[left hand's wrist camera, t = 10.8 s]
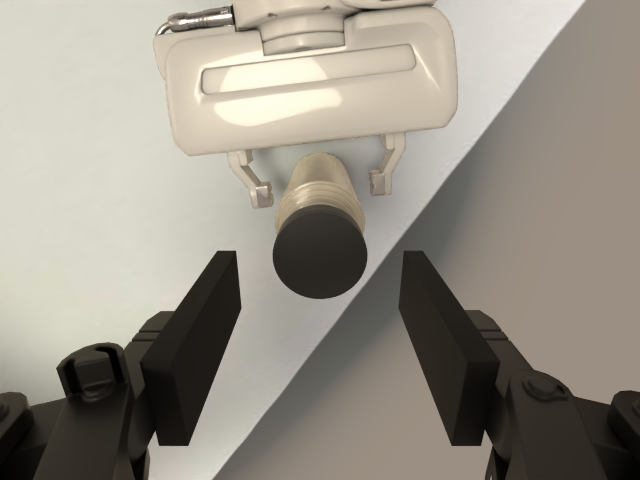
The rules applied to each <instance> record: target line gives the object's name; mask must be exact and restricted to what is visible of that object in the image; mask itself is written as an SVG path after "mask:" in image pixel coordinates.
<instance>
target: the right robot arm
mask: <svg viewBox="0 0 640 480" xmlns="http://www.w3.org/2000/svg"><path fill="white" fill-rule="evenodd" d="M436 1H437V0H232V3H233V4H232V6H229V7H228V6H227V7H221V8H214V9H208V10H206V11H205V10H204V11H202V12H197V13H190V14H188V13H177V14H173V15H171V16H169V17H168V22H166V23H164V24H163V25H161V26H160V27H159V29H158V30H157V32H156V34H155V37H154V39H153V48H154V52H155V56H156V60H157V64H158V68H159V71H160V73H161V76H162V77H163V79H164V80H165V86H166V96H167V105H168V113H169V119H170V124H171V130H172V135H173V139H174V142H175V144H176V145H177V146H178V147H179V148H180V149H181V150H182V151H183V152H184V153H185V154H187V155H188V156H198V155H207V154H216V153H224V152H227V155H228V160H229V165H230V168H231V169H232V171H233V172H234V173H235V174H236V175H237V176H238V178H239V179H240V180H241V181H242V182H243V183H244V185H245V186H246V187H247V188H249V191H250V196H251V201H252V206H253V208H254V209H257V208H265V207H272V205H273V201H274V200H273V194H272V193H271V190H272V187H271V182H260V180H259V179H258V178H257V176H256V175H255V174H254V172H253V171H252V170H251V168H250V167H249V166H248V164H249V163H250V162H252V160H253V158H252V152H251V149H260V148H268V147H277V146H286V145H295V144H304V143H312V142H321V141H330V140H339V139H348V138H356V137H365V136H374V135H381V139H382V146H383V147H385V148H386V149H388V150H387V153H386V155H385V157H384V159H383V161H382V163H381V165H380V167H379V170H371V171H369V179H370V181H371V183H370V192H371V194H372V196H379V195H389V194H391V172H393V170H394V168H395V167H396V165H397V163H398V161H399V159H400V157H401V155H402V153H403V152H404V150H405V132H409V131H418V130H427V129H436V128H443V127H445V126H446V125H447V124H448V123H449V122H450V120H451V119H452V117H453V116H454V114H455V113H456V110H457V102H458V77H457V61H456V50H455V41H454V35H453V31H452V28H451V25H450V23H449V21H448V19H447V17H446V16H445V15H444V14H443V13H442V12H441V11H440V10H438V9H436V8H434V7H432V6H433V5H434V3H435V2H436ZM169 29H171V31H172V32H174V33H169V34H164V33H165V32H166V31H167V30H169ZM198 29H200V30H198Z"/></svg>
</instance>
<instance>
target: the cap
mask: <svg viewBox="0 0 640 480" xmlns="http://www.w3.org/2000/svg"><path fill="white" fill-rule="evenodd" d="M273 263H274V267H275V270H276V273H277V274H278V276H279V278H280V279H281V281H282V282H283V283H284V284H285V285H286V286H287V287H288V288H289V289H291V290H292V291H294V292H295V293H297V294H299V295H302V296H304V297H308V298H314V299H326V298H332V297H336V296H338V295H341V294H343V293H345V292H346V291H348V290H349V289H351V288H352V287H353V286H354V285H355V284H356V283H357V282H358V281H359V279H360V278H361V276H362V274H363V273H364V270H365V267H366V263H367V248H366V244H365V241H364V238H363V235H362V232H361V229H360V227H359V226H358V224H357V222H356V221H355V220H354V219H353V218H352V217H351V216H350V215H349V214H348V213H346V212H345V211H343V210H341V209H339V208H337V207H334V206H330V205H323V204H317V205H310V206H306V207H303V208H301V209H299V210H297V211H295V212H294V213H292V214H291V215H290V216H289V217H288V218H287V219H286V220H285V221H284V223H283V224H282V226H281V227H280V229H279V232H278V235H277V238H276V241H275V244H274V248H273Z"/></svg>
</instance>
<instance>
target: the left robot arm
mask: <svg viewBox="0 0 640 480" xmlns="http://www.w3.org/2000/svg"><path fill="white" fill-rule="evenodd" d="M240 311H241V298H240V288H239V277H238V267H237V256H236V251H217V252H216V254H215V255H214V256H213V258H212V259H211V261H210V262H209V264H208V265H207V266H206V268H205V269H204V271H203V272H202V273H201V275H200V276H199V278H198V279H197V281H196V282H195V283H194V285H193V286H192V288H191V289H190V290H189V292H188V293H187V295H186V296H185V298H184V299H183V300H182V302H181V303H180V305H179V306H178V308H177V309H176V310H175V311H160V312H159V313H157V314H156V315H154V316H153V317H151V318H150V319H148V320H147V321H146V323H145V324H144V325H143V326H142V328H141V329H140V330H139V333H137V334H136V335H135V336H134V338H133V339H132V342H130V343H129V344H128V345H127V346H126V347H125V349H124V350H123V348H122V347H121V346H119V345H118V344H115V343H109V342H108V343H97V344H94V345H90V346H87V347H84V348H82V349H79V350H77V351H75V352H73V353H72V354H70V355H69V356H67V357H66V358H65V359H63V360H62V361H61V363H60V364H59V365H58V366H57V368H56V369H57V372H58V375H59V378H60V381H61V383H62V386H63V389H64V392H65V395H66V398H63V399H60V400H55V401H51V402H47V403H42V404H38V405H34V406H30V405H29V402H28V400H27V397H26V396H25V395H23V394H22V393H18V392H7V393H2V394H0V480H148V476H149V466H150V455H149V450H148V444H149V442H150V440H151V438H152V436H153V434H154V432H155V430H156V435H157V439H158V443H159V446H188V445H189V443H190V440H191V437H192V435H193V432H194V430H195V427H196V424H197V422H198V419H199V417H200V414H201V412H202V409H203V406H204V404H205V401H206V399H207V396H208V393H209V391H210V388H211V386H212V383H213V381H214V378H215V375H216V373H217V370H218V368H219V365H220V362H221V360H222V357H223V355H224V352H225V350H226V347H227V344H228V342H229V339H230V337H231V334H232V331H233V329H234V326H235V324H236V321H237V318H238V316H239V313H240ZM399 311H400V313H401V316H402V318H403V321H404V324H405V326H406V329H407V331H408V334H409V337H410V339H411V342H412V344H413V347H414V350H415V352H416V355H417V357H418V360H419V362H420V365H421V368H422V370H423V373H424V375H425V378H426V380H427V383H428V386H429V388H430V391H431V393H432V396H433V399H434V401H435V404H436V406H437V409H438V412H439V414H440V417H441V419H442V422H443V424H444V427H445V430H446V432H447V435H448V437H449V440H450V443H451V445H452V446H481V443H482V439H483V434H484V430H486V432H487V434H488V436H489V438H490V440H491V442H492V444H493V446H492V450H491V454H490V458H489V462H488V466H487V470H486V475H485V480H490V477H491V475H492V480H640V392H636V391H620V392H618V393H617V394H615V395H614V397H613V400H612V402H611V405H608V404H604V403H600V402H595V401H591V400H587V399H582V398H578V397H575V396H573V394H572V393H571V391H570V390H569V388H568V387H566V386H565V385H564V384H563V383H562V382H560V381H559V380H557V379H555V378H554V377H552V376H550V375H548V374H546V373H543V372H539V371H536V370H534V369H533V368H532V367H531V366H530V364H529V363H528V362H527V361H526V360H525V358H524V357H523V356H522V355H521V353H520V352H519V351H518V350H517V348H516V347H515V346H514V345H513V343H512V342H511V341H509V340H508V337H507V336H506V335H505V334H504V332H502V331H501V329H500V327H499V326H498V325H497V324H496V322H495V321H494V320H493V319H492V318H490V317H489V316H487V315H486V314H484V313H483V312H481V311H480V310H464V309H463V308H462V306H461V305H460V303H459V302H458V300H457V299H456V298H455V296H454V295H453V293H452V292H451V290H450V289H449V288H448V286H447V285H446V283H445V282H444V281H443V279H442V278H441V276H440V275H439V273H438V272H437V271H436V269H435V268H434V266H433V265H432V264H431V262H430V261H429V259H428V258H427V256H426V255H425V254H424V252H423V251H404V256H403V267H402V277H401V288H400V298H399Z"/></svg>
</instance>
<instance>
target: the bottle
mask: <svg viewBox="0 0 640 480" xmlns="http://www.w3.org/2000/svg"><path fill="white" fill-rule="evenodd" d="M317 204H323V205H330V206H334V207H337V208H339V209H341V210H343V211H345V212H346V213H348V214H349V215H350V216H351V217H352V218H353V219H354V220H355V221H356V222H357V224H358V226H359V227H360V229H361V232H362V235H363V233H364V226H365V220H364V214H363V210H362V208H361V205H360V203H359V200H358V198H357V195H356V193H355V190H354V188H353V185H352V183H351V181H350V178H349V176H348V173H347V171H346V168H345V167H344V165H343V164H342V162H341V161H340V160H339V159H338V158H336V157H335V156H333V155H331V154H328V153H322V152H318V153H312V154H309V155H307V156H305V157H304V158H302V159H301V160H300V161H299V162H298V164H297V165H296V166H295V168H294V171H293V173H292V176H291V178H290V180H289V183H288V185H287V188H286V190H285V193H284V195H283V198H282V200H281V203H280V205H279V208H278V210H277V214H276V221H275V226H276V233H277V235H278V232H279V229H280V227H281V226H282V224H283V223H284V221H285V220H286V219H287V218H288V217H289V216H290V215H291V214H292V213H294V212H295V211H297V210H299V209H301V208H303V207H306V206H310V205H317Z"/></svg>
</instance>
